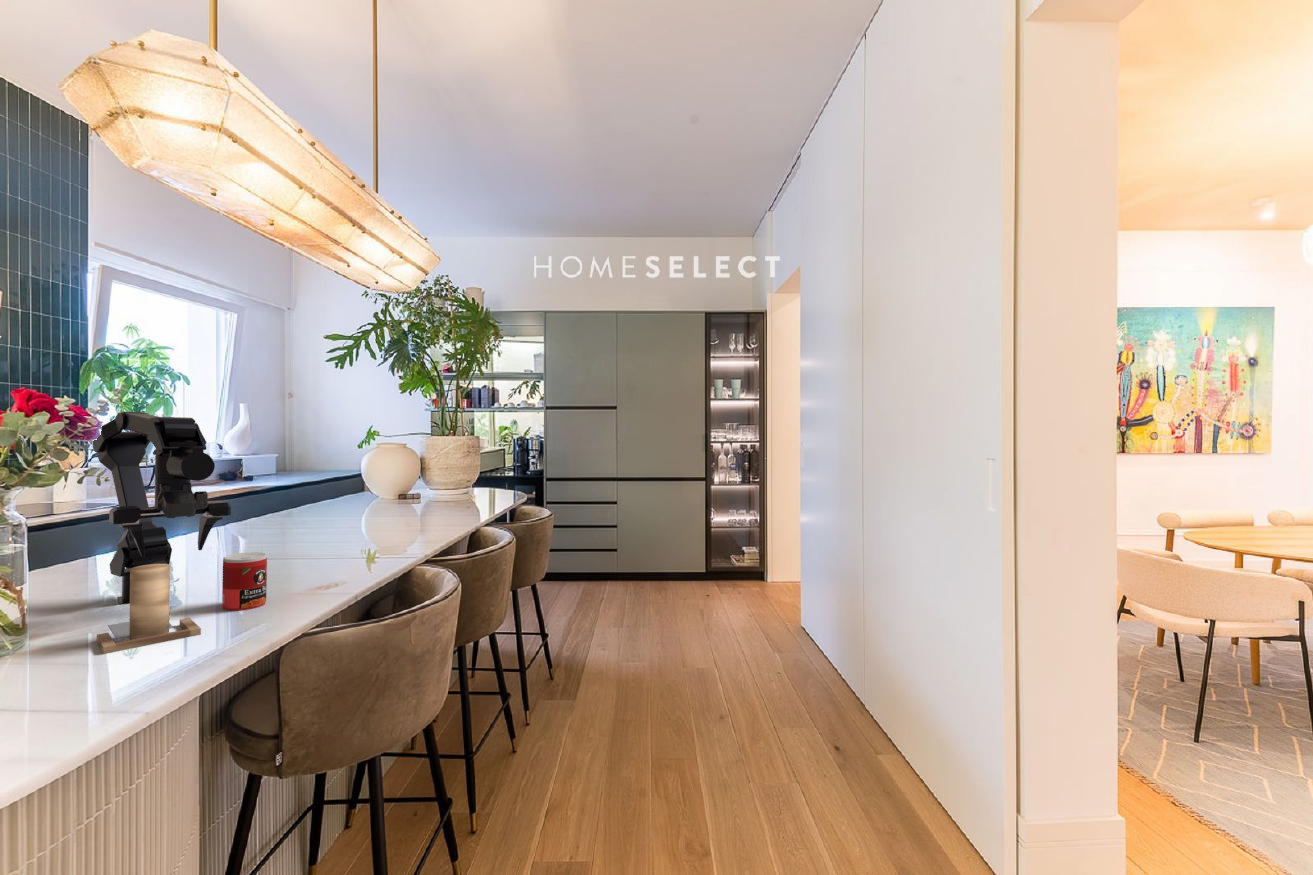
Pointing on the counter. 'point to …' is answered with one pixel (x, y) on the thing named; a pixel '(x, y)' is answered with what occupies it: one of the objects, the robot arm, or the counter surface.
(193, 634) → the walnut frame
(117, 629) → the slate mat
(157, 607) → the pepper mill
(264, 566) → the canned food
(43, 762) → the counter surface
